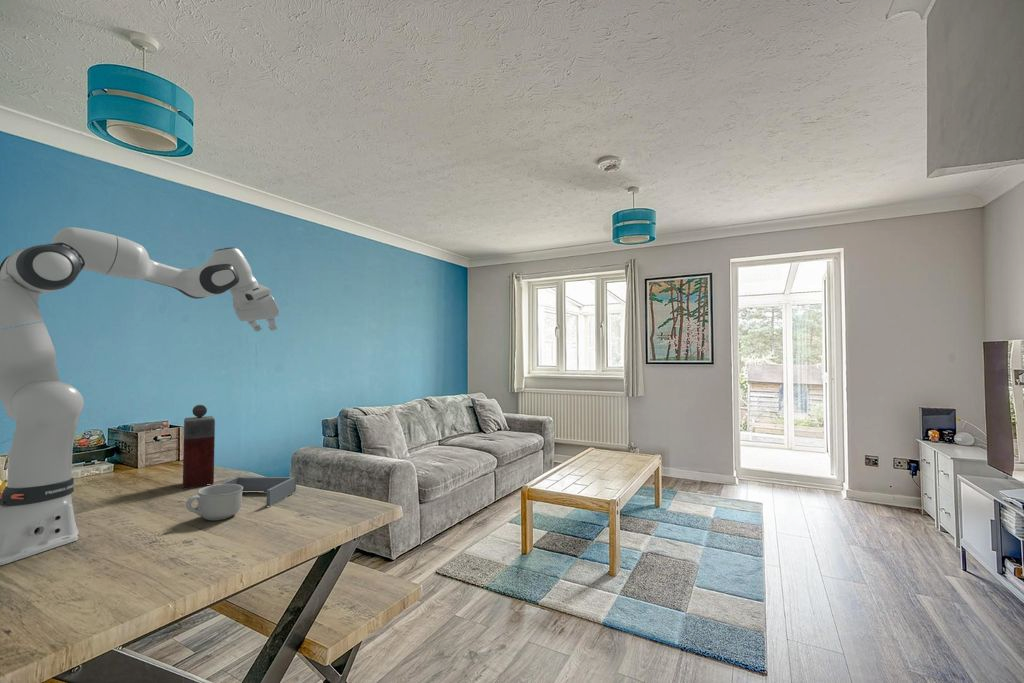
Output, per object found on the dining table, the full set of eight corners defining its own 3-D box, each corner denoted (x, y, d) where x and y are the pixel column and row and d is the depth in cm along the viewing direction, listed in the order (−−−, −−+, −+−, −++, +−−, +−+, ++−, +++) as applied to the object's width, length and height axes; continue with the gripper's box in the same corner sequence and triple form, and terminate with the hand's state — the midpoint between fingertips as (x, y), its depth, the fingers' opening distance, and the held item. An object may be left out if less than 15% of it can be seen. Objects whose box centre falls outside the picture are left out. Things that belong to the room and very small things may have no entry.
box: (269, 507, 137) (269, 490, 137) (204, 506, 138) (205, 489, 138) (295, 492, 152) (295, 477, 152) (237, 491, 153) (237, 476, 153)
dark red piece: (212, 478, 171) (213, 402, 172) (213, 484, 162) (215, 405, 163) (182, 481, 166) (184, 404, 167) (182, 489, 157) (184, 406, 158)
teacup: (233, 508, 136) (234, 480, 137) (248, 516, 129) (249, 487, 130) (177, 521, 125) (178, 491, 126) (190, 530, 119) (191, 499, 119)
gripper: (222, 299, 160) (241, 335, 165) (256, 294, 149) (275, 333, 154) (239, 292, 164) (257, 327, 170) (272, 287, 154) (290, 325, 159)
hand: (266, 330), depth 162 cm, fingers open, 8 cm apart
